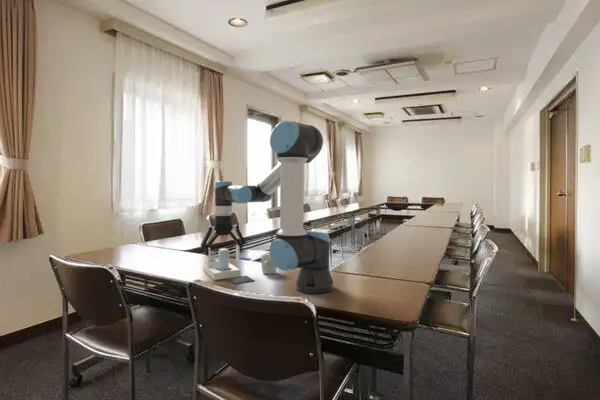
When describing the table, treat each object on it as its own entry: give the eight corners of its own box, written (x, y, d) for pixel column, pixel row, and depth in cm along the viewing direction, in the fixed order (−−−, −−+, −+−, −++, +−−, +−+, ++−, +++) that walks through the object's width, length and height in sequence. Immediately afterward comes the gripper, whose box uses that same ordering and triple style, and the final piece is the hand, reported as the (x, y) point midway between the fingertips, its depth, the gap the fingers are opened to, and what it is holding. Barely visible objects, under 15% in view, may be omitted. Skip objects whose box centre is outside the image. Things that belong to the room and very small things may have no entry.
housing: (240, 276, 157) (240, 264, 157) (214, 279, 151) (214, 267, 151) (227, 267, 173) (227, 256, 172) (203, 270, 167) (203, 259, 166)
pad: (254, 281, 149) (254, 280, 149) (234, 284, 145) (234, 283, 145) (246, 276, 157) (246, 275, 157) (227, 279, 153) (227, 278, 152)
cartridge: (230, 275, 158) (230, 249, 157) (220, 277, 156) (220, 250, 155) (227, 273, 162) (227, 247, 162) (217, 274, 160) (216, 248, 159)
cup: (273, 277, 156) (273, 259, 155) (256, 276, 157) (256, 258, 157) (279, 271, 166) (279, 255, 166) (263, 270, 168) (263, 254, 168)
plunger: (217, 264, 163) (217, 252, 163) (209, 265, 162) (209, 253, 161) (214, 263, 166) (214, 251, 166) (207, 264, 165) (207, 252, 164)
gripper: (246, 213, 167) (246, 256, 168) (193, 215, 154) (193, 262, 156) (252, 214, 160) (252, 259, 162) (197, 216, 148) (198, 265, 149)
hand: (223, 261), depth 159 cm, fingers open, 13 cm apart
